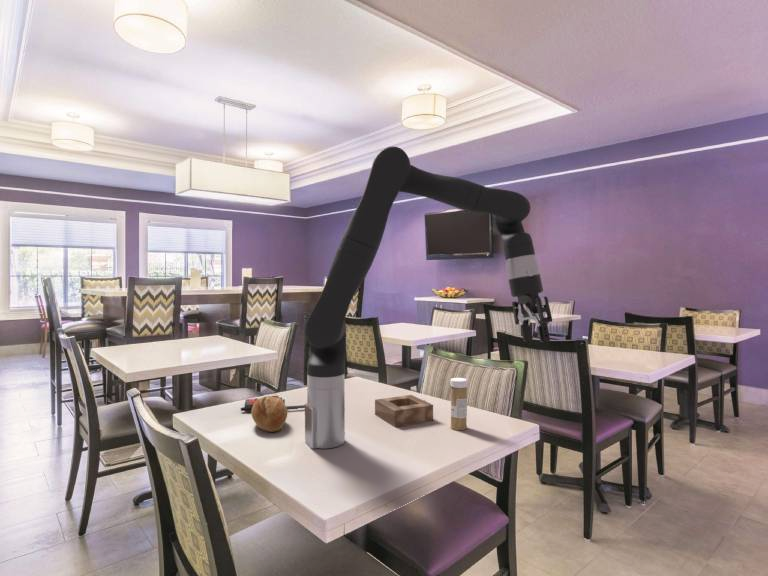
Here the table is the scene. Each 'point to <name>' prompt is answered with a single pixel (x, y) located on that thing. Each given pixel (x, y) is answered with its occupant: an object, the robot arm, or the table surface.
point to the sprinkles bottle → (458, 403)
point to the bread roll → (269, 413)
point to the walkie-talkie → (250, 402)
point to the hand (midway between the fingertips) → (536, 341)
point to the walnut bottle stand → (403, 410)
